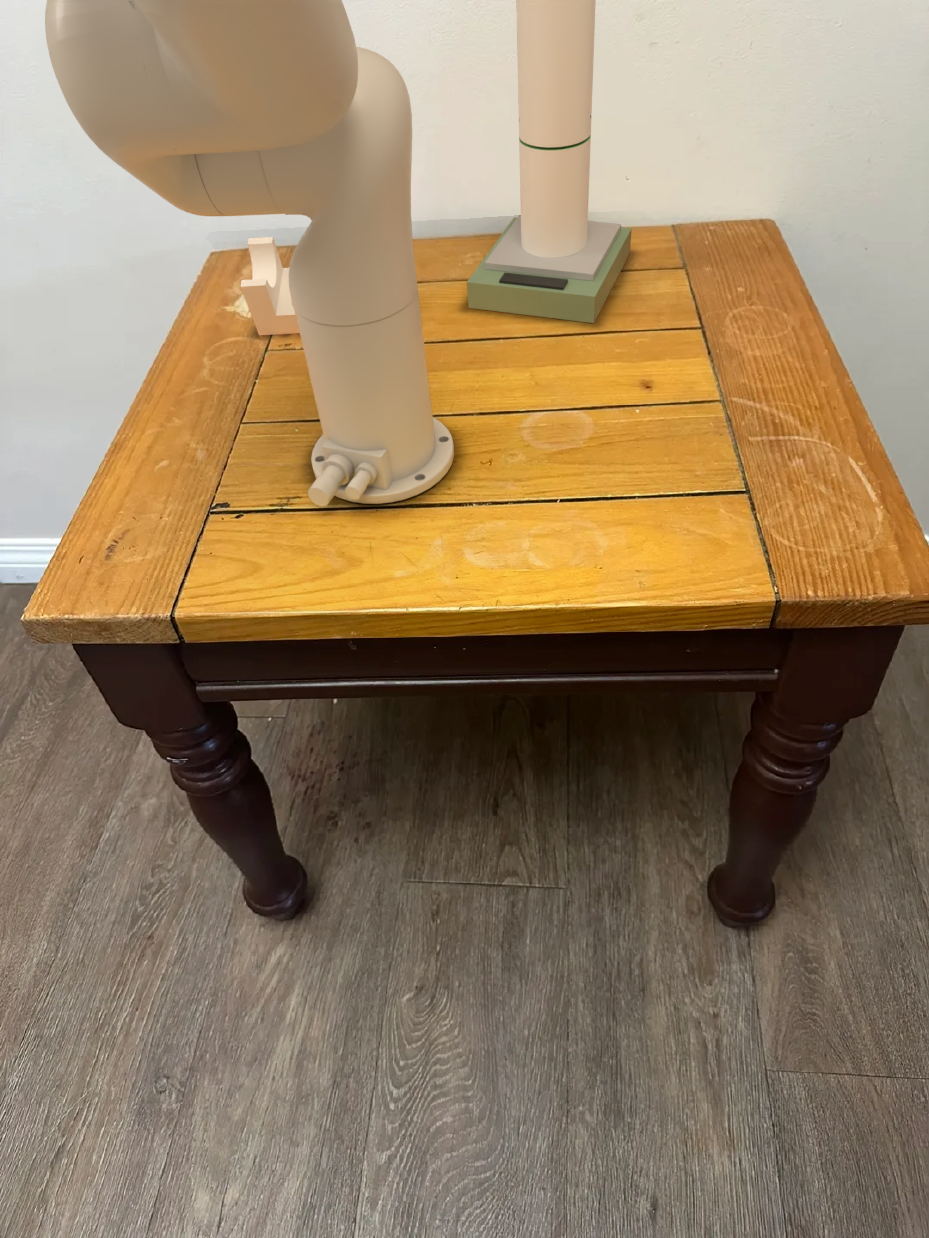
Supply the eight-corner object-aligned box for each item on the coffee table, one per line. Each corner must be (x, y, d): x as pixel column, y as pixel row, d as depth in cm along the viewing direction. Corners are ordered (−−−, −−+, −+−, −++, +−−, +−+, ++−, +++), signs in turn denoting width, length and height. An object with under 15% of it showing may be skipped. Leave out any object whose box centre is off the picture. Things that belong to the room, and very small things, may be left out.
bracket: (261, 341, 94) (240, 286, 87) (268, 295, 97) (248, 238, 90) (379, 335, 93) (367, 279, 86) (382, 288, 96) (371, 230, 90)
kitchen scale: (594, 323, 90) (595, 289, 87) (468, 308, 94) (466, 274, 91) (629, 254, 100) (632, 220, 97) (514, 242, 104) (513, 210, 101)
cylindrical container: (587, 227, 96) (596, -51, 78) (586, 257, 92) (597, -31, 73) (523, 229, 97) (517, -46, 79) (519, 258, 93) (513, -26, 74)
